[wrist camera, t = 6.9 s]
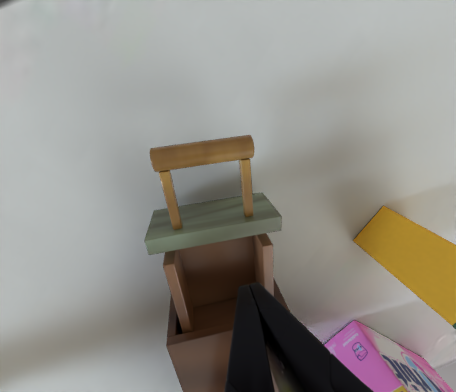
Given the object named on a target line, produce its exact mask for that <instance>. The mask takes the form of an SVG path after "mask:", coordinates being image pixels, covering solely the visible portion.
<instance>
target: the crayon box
mask: <svg viewBox="0 0 456 392" xmlns="http://www.w3.org/2000/svg"><path fill="white" fill-rule="evenodd" d="M353 241H354V242H355V243H356V244H357V245H359V246H360V247H361V248H362V249H363V250H364V251H366V252H367V253H368V254H369V255H370V256H371V257H373V258H374V259H375V260H376V261H377V262H378V263H380V264H381V265H382V266H383V267H384V268H385V269H387V270H388V271H389V272H390V273H391V274H392V275H394V276H395V277H396V278H397V279H398V280H399V281H401V282H402V283H403V284H404V285H405V286H406V287H408V288H409V289H410V290H411V291H412V292H413V293H415V294H416V295H417V296H418V297H419V298H420V299H422V300H423V301H424V302H425V303H426V304H427V305H429V306H430V307H431V308H432V309H433V310H434V311H436V312H437V313H438V314H439V315H440V316H441V317H443V318H444V319H445V320H446V321H447V322H448V323H450V324H451V325H452V326H453V327H454V328H455V329H456V245H455V244H453V243H451V242H449V241H448V240H446V239H444V238H442V237H440V236H438V235H437V234H435V233H433V232H431V231H429V230H427V229H426V228H424V227H422V226H420V225H418V224H416V223H414V222H413V221H411V220H409V219H407V218H405V217H403V216H402V215H400V214H398V213H396V212H394V211H392V210H390V209H389V208H387V207H385V206H383V207H382V208H381V209H380V210H379V211H378V213H377V214H376V215H375V216H374V217H373V218H372V219H371V221H370V222H369V223H368V224H367V225H366V226H365V227H364V229H363V230H362V231H361V232H360V233H359V234H358V235H357V237H356V238H355V239H354V240H353Z"/></svg>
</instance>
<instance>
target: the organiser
mask: <svg viewBox="0 0 456 392" xmlns="http://www.w3.org/2000/svg"><path fill="white" fill-rule="evenodd" d="M273 283H274V297H275V298H276V299H277V300H278V301H279V302H280V303H281V304H282V305H283V306H284V307H285V308H286V309H287V310H288V311H289V309H288V307H287V305H286V303H285V301H284V298H283V296H282V294H281V292H280V290H279V288H278V286H277V284H276V282H275V280H274V278H273ZM289 312H290V311H289ZM233 324H234V322H232V323H228V324H223V325H219V326H215V327H210V328H206V329H202V330H197V331H193V332H189V333H184V334H183V331H182V328H181V324H180V321H179V318H178V314H177V311H176V308H175V305H174V301H173V298H172V295H171V300H170V311H169V322H168V334H167V344H166V346H167V349H168V352H169V354H170V357H171V360H172V362H173V365H174V368H175V371H176V373H177V376H178V379H179V382H180V384H181V387H182V390H183V392H224V390H225V382H226V376H227V369H228V361H229V354H230V346H231V339H232V332H233ZM271 374H272V371H271ZM272 380H273V385H274V390H275V392H279V390H278V387H277V385H276V382H275V379H274V377H273V374H272Z"/></svg>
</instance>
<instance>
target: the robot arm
mask: <svg viewBox="0 0 456 392" xmlns="http://www.w3.org/2000/svg"><path fill="white" fill-rule="evenodd" d="M271 371H272V374H273V377H274V379H275V382H276V385H277V387H278V390H279V392H374V391H373V390H371V389H370V388H369V387H368V386H367V385H366V384H364V383H363V382H362V381H361V380H360V379H359V378H358V377H357V376H355V375H354V374H353V373H352V372H351V371H350V370H349V369H348V368H347V367H346V366H345V365H344V364H343V363H342V362H341V361H340V360H339V359H338V358H336V357H335V356H334V355H333V354H332V353H331V354H330V351H329V350H328V349H327V348H326V347H325V346H324V345H323V344H322V343H321V342H320V341H319V340H318V339H317V338H316V337H315V336H314V335H313V334H312V333H311V332H310V331H309V330H308V329H307V328H306V327H305V326H304V325H303V324H302V323H300V322H299V321H298V320H297V319H296V318H295V317H294V316H293V315H292V314H291V313H290V312H289V311H288V310H287V309H286V308H285V307H284V306H283V305H282V304H281V303H280V302H279V301H278V300H277V299H276V298H275V297H274V296H273V295H272V294H271V293H270V292H269V291H268V290H267V289H266V288H265V287H264V286H263V285H262V284H260V283H259V282H256V283H251V284H250V285H248V284H247V285H242V286H239V288H238V295H237V302H236V310H235V317H234V324H233V332H232V339H231V346H230V354H229V361H228V369H227V376H226V382H225V390H224V392H275V390H274V385H273V380H272V374H271Z"/></svg>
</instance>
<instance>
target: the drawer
mask: <svg viewBox="0 0 456 392" xmlns="http://www.w3.org/2000/svg"><path fill="white" fill-rule="evenodd" d="M253 156H254V143H253V139H252V137H251V135H245V136H238V137H230V138H223V139H215V140H208V141H201V142H193V143H186V144H179V145H171V146H164V147H157V148H151V149H150V159H151V164H152V167H153V169H154V171H155V172H159V175H160V179H161V183H162V187H163V191H164V195H165V199H166V203H167V207H168V208H166V209H160V210H154V212H153V215H152V218H151V221H150V225H149V228H148V231H147V234H146V237H145V244H146V247H147V250H148V253H149V255H152V254H158V253H163V252H165V256H164V263H163V268H164V271H165V275H166V278H167V281H168V285H169V288H170V291H171V295H172V298H173V301H174V305H175V308H176V311H177V314H178V318H179V321H180V324H181V328H182V331H183V334H184V333H189V332H193V331H197V330H202V329H206V328H210V327H215V326H219V325H223V324H228V323H232V322H234V317H235V310H236V302H237V295H238V288H239V286H242V285H247V284H248V285H250V284H251V283H256V282H259V283H260V284H262V285H263V286H264V287H265V288H266V289H267V290H268V291H269V292H270V293H271V294H272V295H273V296H274V283H273V244H272V243H271V241H270V239H269V237H268V236H267V234H266V233H269V232H275V231H280V230H281V215H280V214H279V212H278V211H277V210H276V209H275V207H274V206H273V205H272V204H271V202H270V201H269V200H268V199H267V197H266V196H265V195H264V194H263V193H256V194H252V184H251V168H250V159H249V158H252V157H253ZM234 160H239V164H240V176H241V188H242V196H238V197H232V198H226V199H220V200H214V201H208V202H202V203H196V204H190V205H184V206H178V204H177V199H176V195H175V190H174V186H173V182H172V177H171V173H170V170H173V169H180V168H187V167H194V166H200V165H207V164H214V163H221V162H227V161H234Z"/></svg>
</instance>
